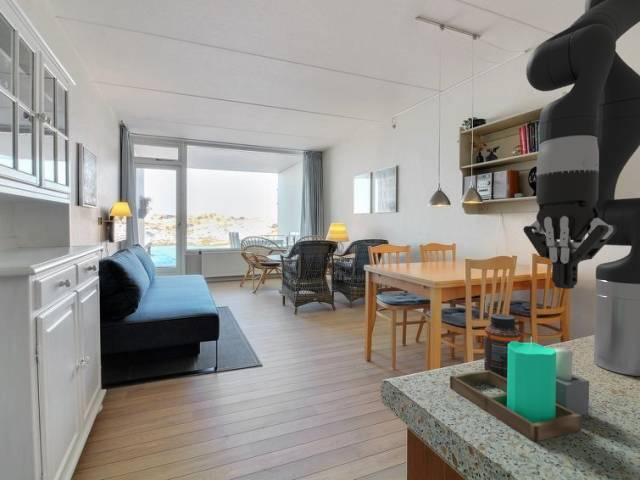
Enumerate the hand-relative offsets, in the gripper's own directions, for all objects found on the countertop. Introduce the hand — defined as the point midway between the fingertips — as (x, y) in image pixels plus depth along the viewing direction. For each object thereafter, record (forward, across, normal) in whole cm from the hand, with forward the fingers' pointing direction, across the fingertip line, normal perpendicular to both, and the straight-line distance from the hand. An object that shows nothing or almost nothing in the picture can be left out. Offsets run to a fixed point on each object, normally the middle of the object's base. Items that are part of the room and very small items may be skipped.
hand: (564, 287), depth 52 cm
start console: (+19, 0, 0) cm, 19 cm away
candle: (+19, -1, +7) cm, 20 cm away
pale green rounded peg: (+16, 0, 0) cm, 16 cm away
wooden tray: (+19, +3, +7) cm, 20 cm away
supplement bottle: (+19, +12, -1) cm, 22 cm away
